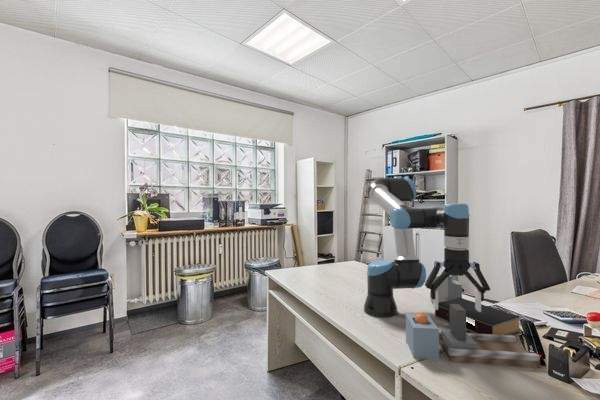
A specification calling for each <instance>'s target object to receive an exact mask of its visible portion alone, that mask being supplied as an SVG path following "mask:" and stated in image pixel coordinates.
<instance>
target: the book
mask: <svg viewBox="0 0 600 400" xmlns="http://www.w3.org/2000/svg"><path fill="white" fill-rule="evenodd" d="M450 304H459V305H460V306H461V307H462V308H464V309H465V310H466V317H468V318H471V319H473V320H475V326H473V325H472V324H470V323H468V322H466V331H469V332H470V333H474V334H493V335H513V334H515V333H519V332H520V331H521V330H520V316H519V315H517V314H514V313H511V312H507V311H504V310H501V309H497V308H494V307H491V306H488V305H485V304H482V303H481V312H478V311H477V310H476V309H475V301H472V300H469V299H466V298H463V297H462V298H456V299H452V300H448V301H443V302H439V303H438V310H436V309H435V308H434V317H435V318H437V319H438V320H439V319H440V320H441V321H444V322H447V323H448V324H450Z"/></svg>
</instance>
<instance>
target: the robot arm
mask: <svg viewBox="0 0 600 400" xmlns="http://www.w3.org/2000/svg"><path fill="white" fill-rule="evenodd" d="M366 195H367V197H368V199H369V201H371V202H372V203H374V204H378V206H379V207H380V208H381V209H383V210H384V212H385V213H386V214H388V215H389V221H390V224H391V227H392V228H393V232H394V243H395V244H394V245H395V253H396V256H395V258H393V262H392V260H388V259H379V260H374V261H372V262H370V263H368V265H367V268H366V269H367V270H366V271H367V272H366V277H367V279H366V280H367V295H366V298H365V301H364V305H363V310H364V312H365V313H366V314H368V316H369V315H370V316H373V317H375V318H376V317H379V318H391V317H394V316H396V315H398V306H397V304H396V301H395V297H394V290H400V289H418V288H421V287H423V286H424V287H426V288H427V290H430V292H431V298H432V299H433V302H434V306H433V308H434V310H435V309H436V310H438V291H437V290H436V289H437V288H438V287H439V286H440V285H441V284H442V282H443V281H444V280H445V279H446V278H447V277H449V276H454V277H455V276H459V277H461V276H462V277H463V276H465V277H466V278H467V279H468V280H469V282H470V283H471V284H472V285H473V286H474V287H475V288H476V289H475V290H474V302H475V309H476V310H477V311H478V312H481V304H482V302H484V300H485V297H484V295H485V293H486V291H490V290H491V287H490V285H489V283H488V282H487V280H486V278H485V276H484V275H483V272H482V270H481V267H480V266H481V265H480V264H479V262H476V261H473V262H470V250H469V248H470V216H471V215H470V213H469V211H470V210H469V205H468V204H467V203H445V204H444V206H443V207H429V208H428V207H426V208H423V207H422V208H420V207H419V208H413V207H411V206H412V205H413V203H414V202H413V201H414V200H415V199H416V197H417V187H416V184H415V182H414V181H413V180H412V179H410V178H408V177H380V178H376V179H374V180H373V181H372V182H370V184H369V185H368V186H367V190H366ZM413 229H443V231H444V232H443V233H444V234H443V236H444V237H443V238H444V241H443V246H444V247H445V248H444V251H443V252H444V253H443V254H444V255H443V256H444V260H443V262H441V261H437V260H435V261H434V264H433V265H434V266H433V268H432V270H431V271H430V272H431V274H429V276H428V277H427V270H426V267H425V265H424V264H423V263H422V262H420V258H419V257H418V256H416V255H417V254H416V250H415V241H414V233H413V232H414V231H413ZM442 267H444V269H443V270H442V272H441V273H442V274H441V275H440V276H439V277H438V278H437V279H436V280H435V278H436V276H437V274H438V273H440V269H442ZM470 268H471V269H472V270H473V271H474V273H475V276H476V277H477V279H478V280H479V282H480V283H479V282H478V281H477V280H476V279H475V278H474V277H473V276H472V274H471V273H470V272H469V270H470ZM434 280H435V281H434ZM433 281H434V282H433ZM431 298H430V299H431Z"/></svg>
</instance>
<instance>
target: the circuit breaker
mask: <svg viewBox="0 0 600 400" xmlns="http://www.w3.org/2000/svg"><path fill="white" fill-rule="evenodd" d="M431 272H432V271H430V274H431ZM430 274H429V275H430ZM441 274H442V272H438V274H437V276H436V278H435V280H436V279H437V278H438V277H439V276H440V275H441ZM435 280H434V281H435ZM434 281H433V282H434ZM436 290H437V291H438V303H439V302H443V301H448V300H452V299H456V298H463V292H465V289H464V288H463V285H462V283H460V282H459V281H458V280H453V279H452V275H450V276H449V277H447V278H446V279H445V280H444V281H443V282H442V284H441V285H440V286H439V287H438V288H437V289H436ZM429 297H430V303H431V304H432V305H433V306H432V307H434V302H433V299H432V298H431V291H430V293H429Z"/></svg>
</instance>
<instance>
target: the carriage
mask: <svg viewBox="0 0 600 400" xmlns="http://www.w3.org/2000/svg"><path fill="white" fill-rule="evenodd" d="M449 327H450V329H441V330H440V332H441V338H442V339H443V341H444V342H445V344H446V345H447V347H448V348H458V349H474V350H477V343H476V342H475V341H474V340H473V339H472V338H471V337H470V336H469V335H468V332H467V330H466V310H465V309H464V308H462V307H461V306H460V305H459V304H450V323H449Z"/></svg>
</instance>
